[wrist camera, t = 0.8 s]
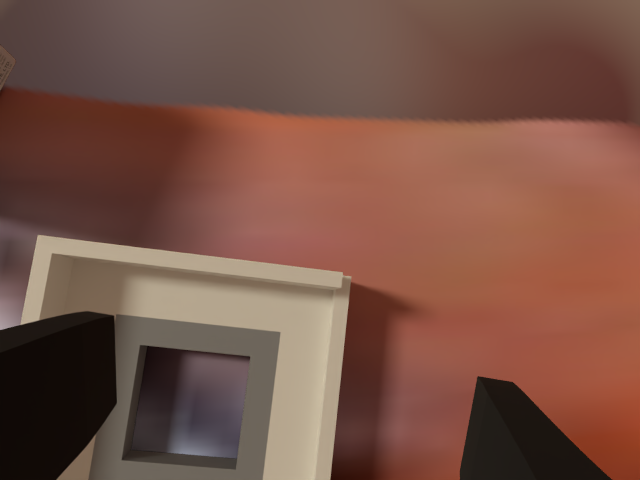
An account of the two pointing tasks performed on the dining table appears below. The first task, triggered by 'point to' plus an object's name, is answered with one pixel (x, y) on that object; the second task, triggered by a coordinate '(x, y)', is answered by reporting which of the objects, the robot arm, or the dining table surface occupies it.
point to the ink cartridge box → (5, 65)
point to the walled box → (206, 350)
